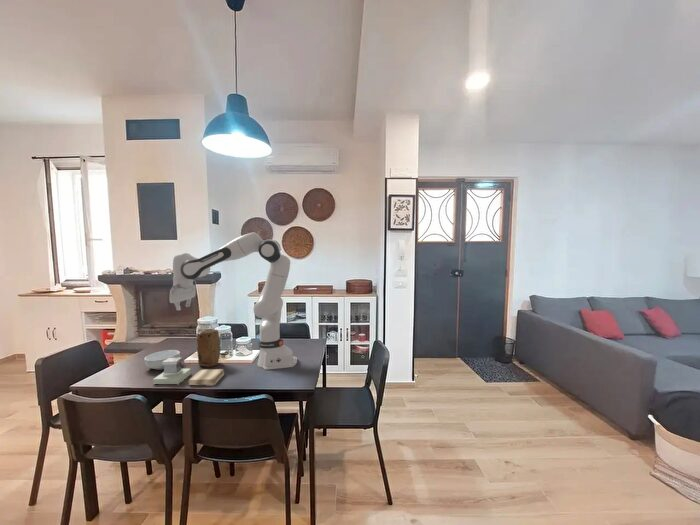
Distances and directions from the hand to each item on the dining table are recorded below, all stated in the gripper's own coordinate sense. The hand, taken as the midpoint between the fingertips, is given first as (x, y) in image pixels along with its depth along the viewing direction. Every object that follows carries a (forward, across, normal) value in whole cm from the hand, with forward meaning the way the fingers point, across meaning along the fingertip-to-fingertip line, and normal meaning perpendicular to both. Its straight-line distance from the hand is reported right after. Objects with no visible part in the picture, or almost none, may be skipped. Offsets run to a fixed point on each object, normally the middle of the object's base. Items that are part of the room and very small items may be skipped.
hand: (183, 308), depth 157 cm
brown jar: (+34, +6, -10) cm, 36 cm away
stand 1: (+34, -12, 0) cm, 36 cm away
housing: (+31, -12, 0) cm, 33 cm away
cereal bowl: (+34, +5, +15) cm, 38 cm away
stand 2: (+34, -14, -18) cm, 41 cm away
